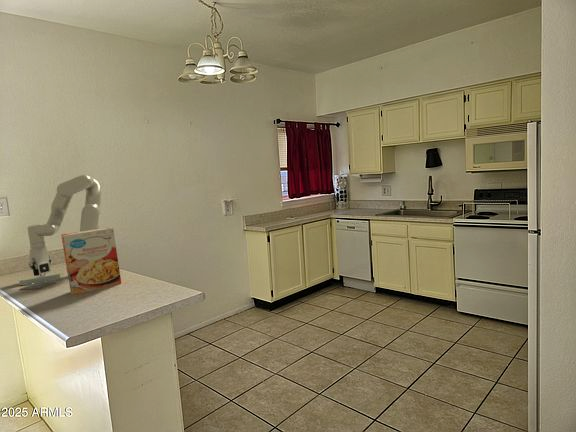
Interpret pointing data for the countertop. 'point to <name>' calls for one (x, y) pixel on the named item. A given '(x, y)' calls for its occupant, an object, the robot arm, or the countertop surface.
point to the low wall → (40, 279)
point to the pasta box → (91, 260)
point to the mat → (37, 285)
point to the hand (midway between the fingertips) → (42, 273)
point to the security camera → (43, 268)
